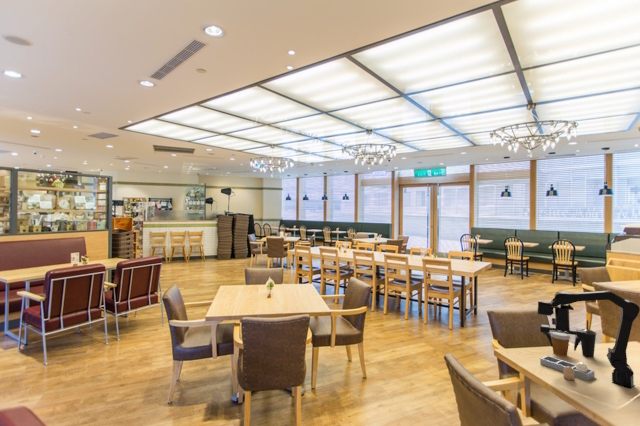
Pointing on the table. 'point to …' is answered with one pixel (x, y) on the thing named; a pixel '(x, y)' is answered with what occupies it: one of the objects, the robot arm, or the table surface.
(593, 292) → the robot arm
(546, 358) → the egg tray
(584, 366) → the cream egg
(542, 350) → the table surface
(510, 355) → the table surface
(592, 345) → the drinking cup
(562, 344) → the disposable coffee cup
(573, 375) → the brown egg
